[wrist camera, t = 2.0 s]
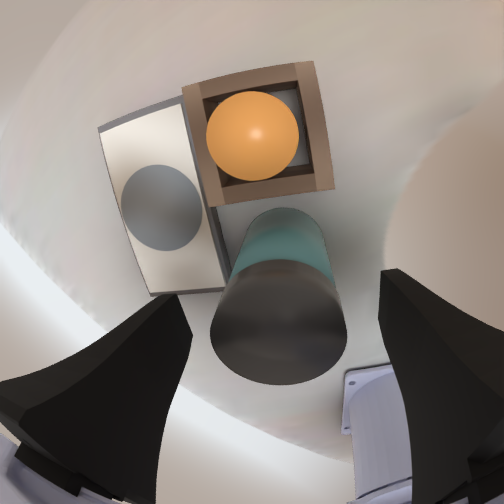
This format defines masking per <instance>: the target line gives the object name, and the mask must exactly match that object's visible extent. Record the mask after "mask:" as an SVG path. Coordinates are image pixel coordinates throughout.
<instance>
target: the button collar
mask: <svg viewBox="0 0 504 504" xmlns="http://www.w3.org/2000/svg"><path fill="white" fill-rule="evenodd" d="M295 88H296V90H297V95H298V100H299V105H300V110H301V116H302V121H303V126H304V132H305V138H306V144H307V150H308V156H309V162H310V164H307V165H299V166H292V167H286V168H284V169H283V170H282V171H281V172H279V173H278V174H276V175H274V176H272V177H270V178H267V179H263V180H256V181H248V180H242V179H239V178H236V177H233V176H231V175H229V174H228V173H226V172H225V171H223V170H222V169H221V168H220V167H219V166H218V165H217V164H216V163H215V161H214V160H213V158H212V157H211V154H210V152H209V150H208V146H207V141H206V131H207V125H208V122H209V119H210V117H211V115H212V113H213V112H214V110H215V109H216V108H217V107H218V103H219V102H223V101H224V100H226V99H227V98H229V97H231V96H233V95H235V94H238V93H242V92H248V91H256V92H263V93H268V92H274V91H281V90H287V89H295ZM182 93H183V97H184V102H185V107H186V112H187V116H188V121H189V125H190V130H191V134H192V139H193V143H194V148H195V152H196V156H197V161H198V165H199V169H200V173H201V178H202V182H203V186H204V190H205V194H206V198H207V202H208V206H209V207H215V206H221V205H226V204H233V203H239V202H245V201H251V200H258V199H264V198H271V197H278V196H285V195H292V194H300V193H307V192H315V191H323V190H332V189H335V185H334V176H333V168H332V161H331V154H330V147H329V140H328V134H327V128H326V122H325V116H324V111H323V105H322V100H321V95H320V90H319V85H318V80H317V76H316V71H315V67H314V62H313V61H306V62H297V63H290V64H282V65H276V66H270V67H264V68H258V69H253V70H248V71H243V72H238V73H234V74H229V75H225V76H221V77H217V78H213V79H209V80H206V81H202V82H198V83H195V84H191V85H188V86H185V87H182Z"/></svg>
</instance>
